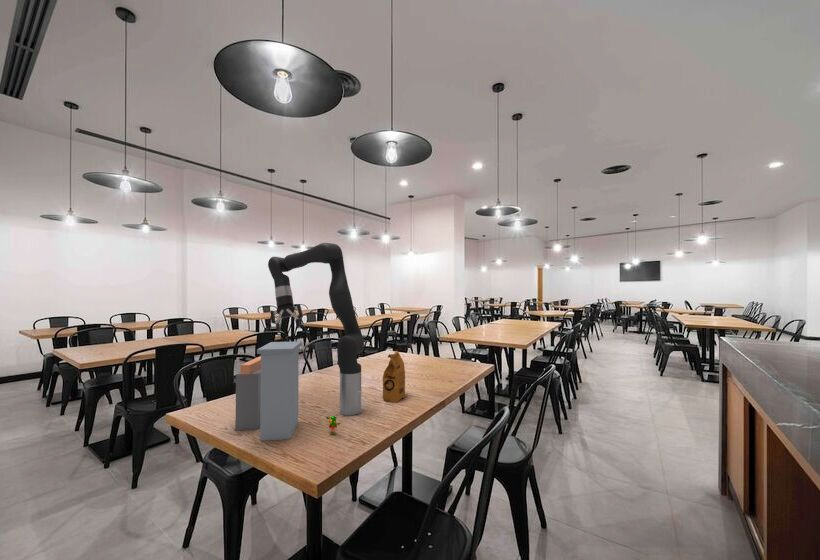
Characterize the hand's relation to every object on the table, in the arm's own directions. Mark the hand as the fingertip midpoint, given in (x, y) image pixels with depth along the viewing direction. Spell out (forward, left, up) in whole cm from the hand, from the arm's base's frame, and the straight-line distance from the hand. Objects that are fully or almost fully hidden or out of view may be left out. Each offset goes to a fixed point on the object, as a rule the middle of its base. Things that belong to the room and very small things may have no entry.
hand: (288, 329), depth 154 cm
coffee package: (-50, +1, -34) cm, 60 cm away
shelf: (+8, +20, -34) cm, 40 cm away
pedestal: (-5, +32, -34) cm, 47 cm away
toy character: (-24, +37, -34) cm, 56 cm away
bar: (+7, +17, -13) cm, 23 cm away
